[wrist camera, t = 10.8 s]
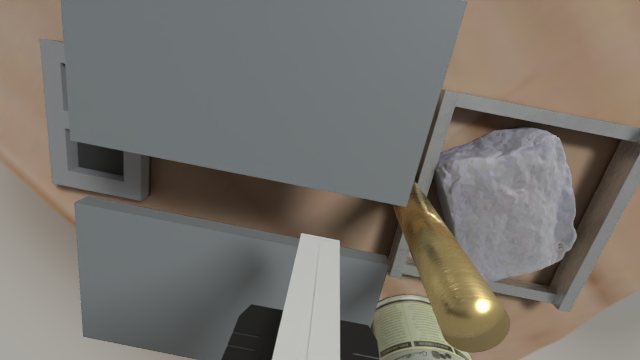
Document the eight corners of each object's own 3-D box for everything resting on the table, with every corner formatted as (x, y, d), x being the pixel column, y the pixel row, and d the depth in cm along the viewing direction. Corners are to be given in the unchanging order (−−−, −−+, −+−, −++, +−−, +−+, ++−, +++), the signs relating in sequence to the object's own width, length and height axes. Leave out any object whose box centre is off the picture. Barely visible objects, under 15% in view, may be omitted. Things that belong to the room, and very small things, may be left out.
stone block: (524, 113, 27) (415, 157, 27) (575, 117, 22) (445, 170, 22) (544, 231, 30) (448, 272, 30) (593, 256, 26) (480, 304, 25)
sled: (410, 83, 25) (528, 96, 9) (640, 128, 25) (1165, 221, 9) (363, 258, 30) (387, 463, 14) (554, 297, 30) (794, 545, 14)
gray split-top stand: (179, -12, 24) (55, -79, 14) (412, 33, 24) (467, 1, 14) (169, 250, 31) (83, 336, 21) (348, 285, 31) (351, 390, 21)
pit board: (56, 40, 26) (39, 38, 24) (152, 59, 26) (141, 58, 24) (66, 178, 30) (52, 183, 28) (150, 194, 30) (140, 200, 28)
